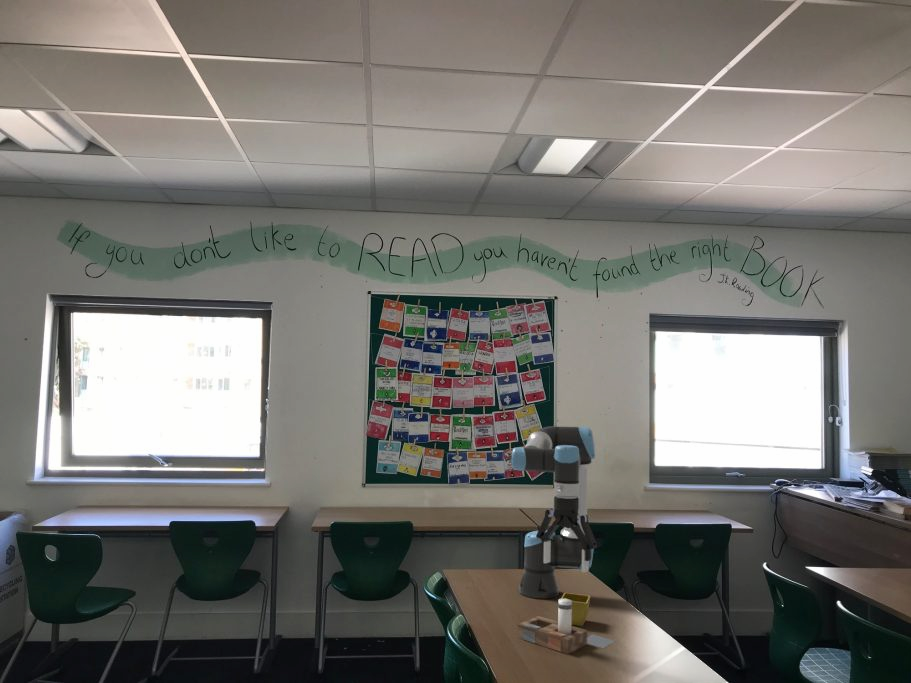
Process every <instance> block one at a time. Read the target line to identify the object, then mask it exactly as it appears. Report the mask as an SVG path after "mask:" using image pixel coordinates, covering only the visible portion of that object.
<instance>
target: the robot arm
mask: <svg viewBox="0 0 911 683" xmlns="http://www.w3.org/2000/svg"><path fill="white" fill-rule="evenodd" d="M511 451H512V452H511V468H512V469H513V470H515V471H521V472H524V471H525V472H545V473H554V479H553V480H554V481H553V482H554V484H553V487H554V488H553V490H554V491H553V495H555V496H554V498H553V508H554V509H552V508H550V509H549V508H548V509H546V510H545V511H544V517H543V520H542V521H541V522H542V523H541V524H540V527H539V529H538V530H533V531H531V532H528V533H526V534H525V536H524V544H523V545H524V564H523V565H524V566H523V574H522V577H521V580H520V583H519V586H518V588H519V594H521V595H522V596H525V597H528V598H534V599H551V598H555V597H558V596H559V595H560V594H559V591H560V590H559V585H558V581H557V578H556V575H555V568H556V567H558V568H565V569H567V568H568V569H576V570H581V573H587V572H589V570H590V568H591V567H592V562H593V556H594V550H595V549H596V548H597V547H598V544H597V541H596V539H595V535H594V533H593V531H592V528H591V526H590V523H589V516H588V467H589V466H590V465H591V464H592V460H593V459H596V448H595V441H594V434H593V430H592V429H591V428H589V427H582V426H555V425H554V426H550V425H549V426H545V427H542V428H539V429H536V430H535V431H533V432H531V434H529V436H528V437H527V440H526V445H524V447H523V446H520V447H514V448H513V449H512V450H511ZM553 517H554V520H553V522H552V523H551V521H552V519H553ZM550 523H551V525H550ZM549 525H550V527H549ZM559 527H560V528H562V529H561V530H560V535H559V534H558V535H556V530H558V528H559Z"/></svg>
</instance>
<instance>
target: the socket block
mask: <svg viewBox="0 0 911 683" xmlns="http://www.w3.org/2000/svg"><path fill="white" fill-rule="evenodd" d="M587 637H588V630H587V629H584V628H582V627H581V628H580V627H578V626H575V625H571V635H569V636H566V635H565V634H562V633H559V632H558V620H557V621H556V620H553V619H550V618H546V617H543V616H539V615H537V616H535V617H532V618H530V619H528V620H525V621H523V622H520V623H518V624H517V638H518V639H520V640H524V641H527V642H529V643H531V644H532V643H533V644H535V645H539V646H541V647H544V648H547V649H551V650H553V651H556V652H559V653H562V654H566V655H569V654H571V653H573V652H575V651H577V650H579V649H581V648H583V647H584V646H586V645H588V644H587Z"/></svg>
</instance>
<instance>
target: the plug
mask: <svg viewBox="0 0 911 683" xmlns="http://www.w3.org/2000/svg"><path fill="white" fill-rule="evenodd" d="M557 601H558V603H557V608H558V610H557V612H558V614H557V618H558V619H557V622H558V632H559V633H562V634H565V635H566V636H569V635H571V626H572V625H571V623H572V601H571V600H570V599H561V598H559V599H557Z"/></svg>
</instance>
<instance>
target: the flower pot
mask: <svg viewBox="0 0 911 683" xmlns="http://www.w3.org/2000/svg"><path fill="white" fill-rule="evenodd" d="M560 599H570V600H571V601H572V623H571V626H577V627H578V626H579V627H583V626H584V624H585V622H586V619H587V616H588V614H589V610H590V602H591V601H590V600H591V596H590V595H588V594H587V595H586V594H580V593H571V592H564V593H563V595H562V596H561V598H560Z"/></svg>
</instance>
